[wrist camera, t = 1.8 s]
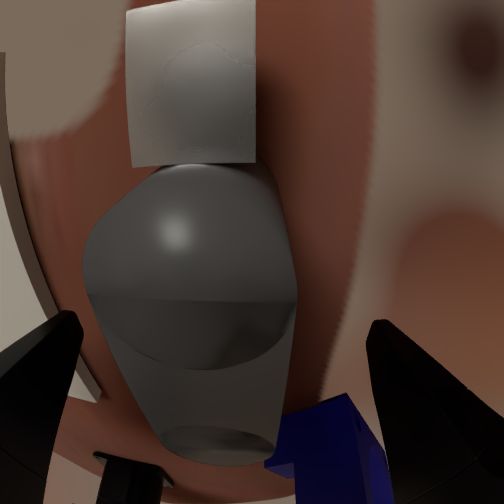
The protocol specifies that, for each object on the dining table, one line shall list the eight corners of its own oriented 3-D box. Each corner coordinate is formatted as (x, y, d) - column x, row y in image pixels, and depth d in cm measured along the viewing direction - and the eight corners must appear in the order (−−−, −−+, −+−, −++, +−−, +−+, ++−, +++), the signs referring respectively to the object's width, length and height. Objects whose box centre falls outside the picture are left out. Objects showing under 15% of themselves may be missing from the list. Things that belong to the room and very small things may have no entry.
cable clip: (263, 417, 14) (264, 522, 9) (346, 392, 13) (367, 504, 7) (332, 467, 19) (339, 528, 14) (384, 450, 18) (397, 513, 12)
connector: (283, 28, 6) (310, -37, 2) (269, 381, 12) (272, 467, 8) (143, 38, 6) (48, 6, 2) (188, 378, 12) (173, 460, 8)
